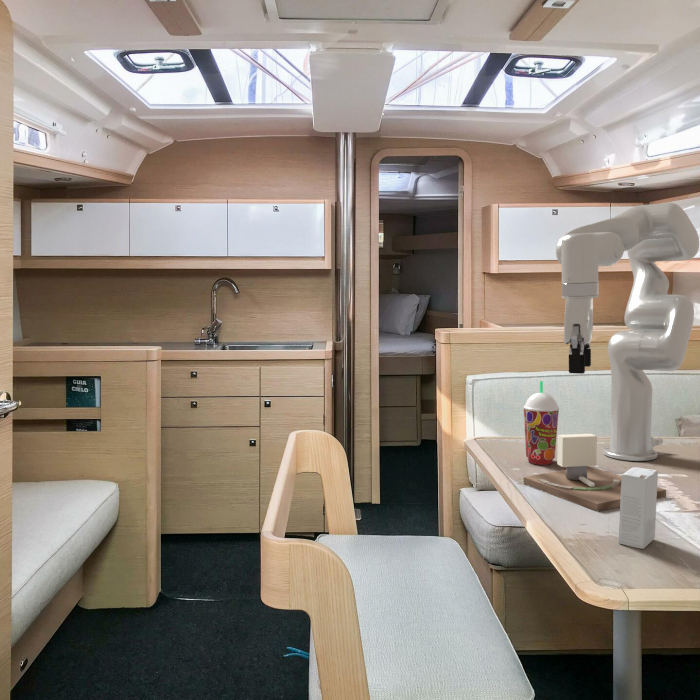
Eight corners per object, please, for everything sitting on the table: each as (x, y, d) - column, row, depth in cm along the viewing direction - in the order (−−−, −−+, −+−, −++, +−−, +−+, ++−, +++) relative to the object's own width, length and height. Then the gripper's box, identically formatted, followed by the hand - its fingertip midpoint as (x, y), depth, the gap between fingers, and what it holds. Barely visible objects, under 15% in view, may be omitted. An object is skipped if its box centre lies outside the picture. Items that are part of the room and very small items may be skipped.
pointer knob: (555, 475, 148) (555, 434, 147) (588, 473, 148) (589, 432, 148) (574, 488, 138) (575, 444, 137) (610, 486, 139) (611, 442, 138)
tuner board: (587, 472, 156) (588, 464, 156) (666, 496, 137) (666, 488, 137) (523, 483, 148) (523, 475, 148) (597, 511, 129) (597, 502, 129)
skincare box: (629, 534, 117) (631, 465, 116) (656, 539, 114) (658, 469, 113) (617, 544, 113) (618, 473, 112) (645, 550, 110) (647, 477, 109)
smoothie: (539, 468, 160) (540, 384, 159) (515, 460, 168) (516, 380, 166) (565, 463, 164) (566, 382, 162) (541, 456, 172) (542, 378, 170)
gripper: (568, 289, 155) (568, 363, 157) (554, 293, 140) (555, 375, 142) (602, 288, 152) (602, 364, 154) (593, 293, 136) (593, 376, 139)
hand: (580, 369), depth 148 cm, fingers open, 9 cm apart
